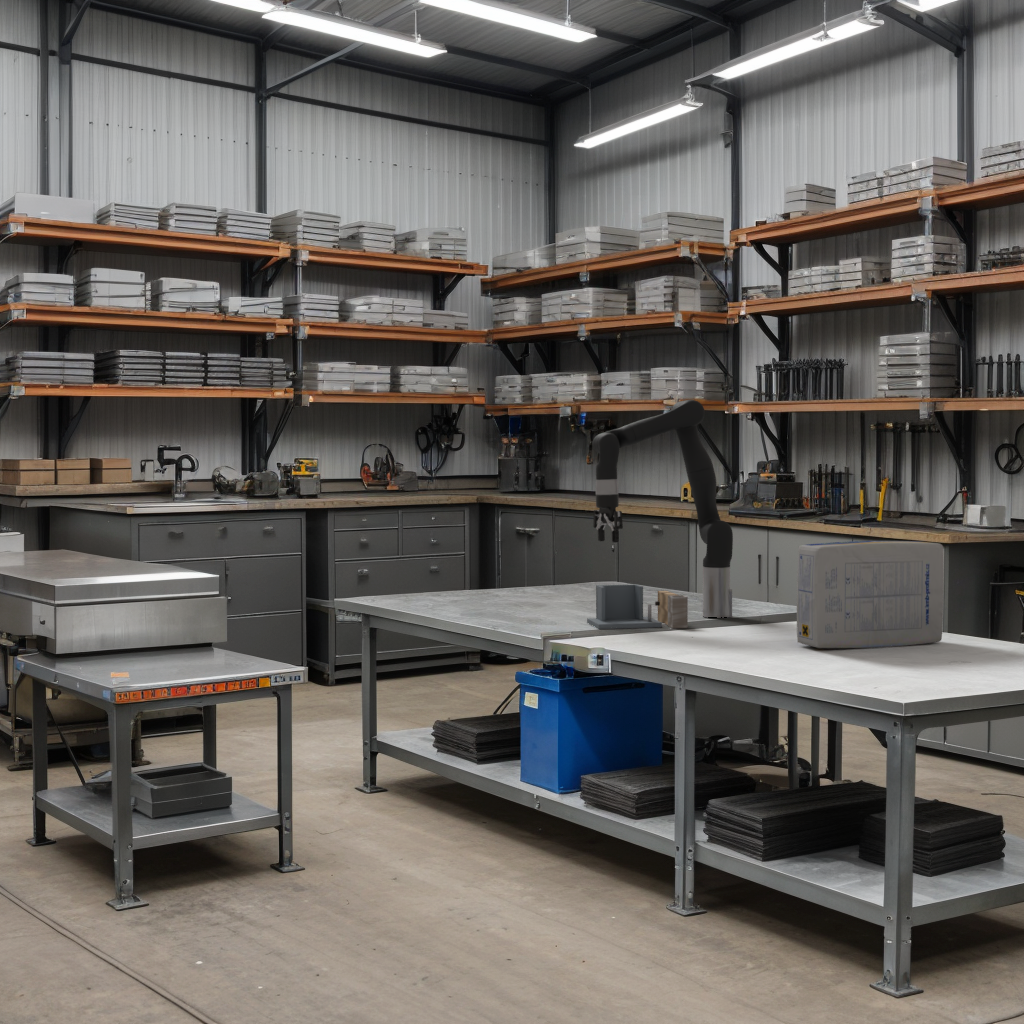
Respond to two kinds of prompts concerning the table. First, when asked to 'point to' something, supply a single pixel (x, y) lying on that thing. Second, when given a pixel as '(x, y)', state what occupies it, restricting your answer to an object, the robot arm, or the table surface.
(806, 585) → the construction material bag
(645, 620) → the grey corner bracket
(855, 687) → the table surface
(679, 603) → the door
